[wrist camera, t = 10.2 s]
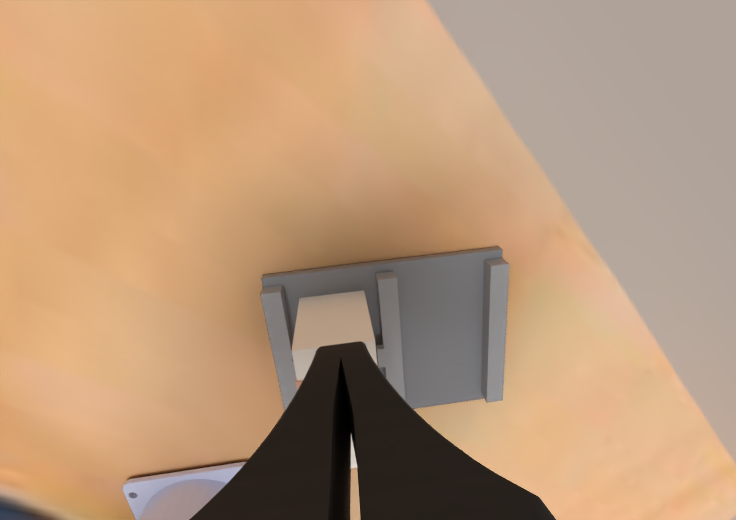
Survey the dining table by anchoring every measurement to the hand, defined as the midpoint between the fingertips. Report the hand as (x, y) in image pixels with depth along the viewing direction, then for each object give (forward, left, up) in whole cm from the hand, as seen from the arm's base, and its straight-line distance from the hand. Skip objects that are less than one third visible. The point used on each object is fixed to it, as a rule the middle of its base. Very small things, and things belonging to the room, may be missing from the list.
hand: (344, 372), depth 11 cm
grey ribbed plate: (-6, -3, -10) cm, 12 cm away
